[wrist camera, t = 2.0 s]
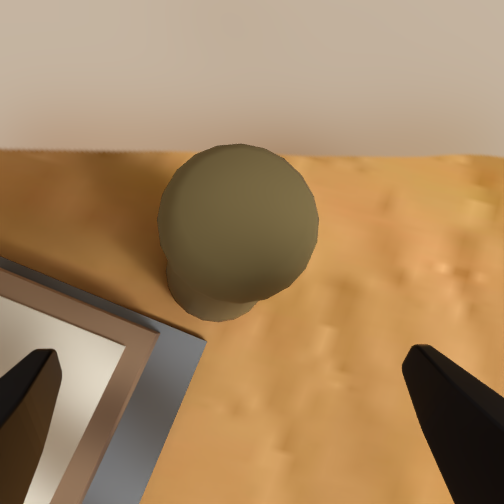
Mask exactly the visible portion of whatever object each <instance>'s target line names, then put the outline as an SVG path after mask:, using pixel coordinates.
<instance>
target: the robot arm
mask: <svg viewBox="0 0 504 504" xmlns="http://www.w3.org/2000/svg"><path fill="white" fill-rule="evenodd" d="M402 373H403V376H404V379H405V382H406V385H407V388H408V391H409V394H410V397H411V400H412V403H413V406H414V409H415V412H416V415H417V418H418V421H419V423H420V426H421V429H422V431H423V433H424V436H425V438H426V440H427V443H428V445H429V447H430V449H431V452H432V454H433V456H434V458H435V461H436V463H437V465H438V467H439V470H440V472H441V474H442V476H443V479H444V481H445V483H446V485H447V488H448V490H449V492H450V494H451V497H452V499H453V501H454V504H504V398H503V397H502V396H501V395H499V394H498V393H496V392H495V391H494V390H492V389H491V388H489V387H488V386H487V385H485V384H484V383H482V382H481V381H480V380H478V379H477V378H475V377H474V376H473V375H471V374H470V373H468V372H467V371H466V370H464V369H463V368H461V367H460V366H459V365H457V364H456V363H454V362H453V361H452V360H450V359H449V358H447V357H446V356H445V355H443V354H442V353H440V352H439V351H438V350H436V349H435V348H433V347H432V346H430V345H427V344H416V345H413V346H412V347H411V349H410V350H409V352H408V354H407V356H406V358H405V360H404V362H403V364H402ZM61 382H62V369H61V366H60V362H59V358H58V355H57V352H56V350H55V349H52V348H47V349H35V350H33V351H31V352H30V353H29V354H28V355H27V356H25V357H24V358H23V359H22V360H21V361H19V362H18V363H17V364H16V365H15V366H14V367H12V368H11V369H10V370H9V371H8V372H6V373H5V374H4V375H3V376H2V377H1V378H0V504H23V503H24V501H25V498H26V495H27V493H28V490H29V488H30V485H31V482H32V480H33V477H34V474H35V472H36V469H37V466H38V464H39V461H40V458H41V455H42V453H43V450H44V446H45V443H46V439H47V435H48V432H49V428H50V424H51V420H52V416H53V412H54V409H55V405H56V401H57V397H58V393H59V389H60V386H61Z"/></svg>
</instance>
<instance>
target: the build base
mask: <svg viewBox="0 0 504 504" xmlns="http://www.w3.org/2000/svg"><path fill="white" fill-rule="evenodd" d="M206 343H207V341H204V340H202V339H200V338H197V337H195V336H192V335H190V334H187V333H185V332H183V331H180V330H178V329H175V328H173V327H170V326H168V325H166V324H163V323H161V322H158V321H156V320H153V319H151V318H149V317H146V316H144V315H141V314H139V313H136V312H134V311H132V310H129V309H127V308H124V307H122V306H119V305H117V304H115V303H112V302H110V301H107V300H105V299H102V298H100V297H98V296H95V295H93V294H90V293H88V292H85V291H83V290H81V289H78V288H76V287H73V286H71V285H68V284H66V283H64V282H61V281H59V280H56V279H54V278H51V277H49V276H47V275H44V274H42V273H39V272H37V271H34V270H32V269H30V268H27V267H25V266H22V265H20V264H17V263H15V262H13V261H10V260H8V259H5V258H3V257H0V378H1V377H2V376H3V375H4V374H5V373H6V372H8V371H9V370H10V369H11V368H12V367H14V366H15V365H16V364H17V363H18V362H19V361H21V360H22V359H23V358H24V357H25V356H27V355H28V354H29V353H30V352H31V351H33V350H35V349H47V348H52V349H55V350H56V352H57V355H58V358H59V362H60V366H61V369H62V382H61V386H60V389H59V393H58V397H57V401H56V405H55V409H54V412H53V416H52V420H51V424H50V428H49V432H48V435H47V439H46V443H45V446H44V450H43V453H42V455H41V458H40V461H39V464H38V466H37V469H36V472H35V474H34V477H33V480H32V482H31V485H30V488H29V490H28V493H27V495H26V498H25V501H24V503H23V504H139V502H140V500H141V498H142V495H143V493H144V491H145V488H146V486H147V483H148V481H149V479H150V476H151V474H152V472H153V469H154V467H155V464H156V462H157V460H158V457H159V455H160V452H161V450H162V448H163V445H164V443H165V441H166V438H167V436H168V433H169V431H170V429H171V426H172V424H173V422H174V419H175V417H176V414H177V412H178V410H179V407H180V405H181V402H182V400H183V398H184V395H185V393H186V391H187V388H188V386H189V383H190V381H191V379H192V376H193V374H194V372H195V369H196V367H197V364H198V362H199V360H200V357H201V355H202V352H203V350H204V348H205V345H206Z"/></svg>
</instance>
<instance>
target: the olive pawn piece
mask: <svg viewBox="0 0 504 504" xmlns="http://www.w3.org/2000/svg"><path fill="white" fill-rule="evenodd" d="M157 223H158V230H159V238H160V245H161V247H162V250H163V252H164V253H165V255H166V257H167V259H168V262H167V268H166V274H167V281H168V287H169V289H170V291H171V293H172V295H173V297H174V299H175V301H176V302H177V303H178V304H179V305H180V306H181V307H182V308H183V309H184V310H185V311H186V312H187V313H189V314H191V315H193V316H195V317H197V318H199V319H201V320H206V321H213V322H223V321H228V320H233V319H236V318H238V317H240V316H241V315H243V314H245V313H247V312H249V311H250V310H251V309H252V307H253V306H254V305H255V304H256V303H257V302H258V301H260V300H265V299H268V298H270V297H271V296H273V295H275V294H277V293H279V292H280V291H282V290H284V289H286V288H288V287H289V286H290V285H291V284H292V283H293V282H294V281H295V280H296V279H297V278H298V276H299V275H300V274H301V273H302V272H303V271H304V270H305V269H306V267H307V264H308V262H309V259H310V257H311V255H312V252H313V250H314V248H315V245H316V243H317V236H318V224H319V217H318V212H317V208H316V204H315V200H314V196H313V194H312V192H311V191H310V189H309V187H308V185H307V184H306V182H305V180H304V178H303V177H302V175H301V174H300V173H299V172H298V171H297V170H296V169H294V168H293V167H292V166H291V165H290V164H289V163H288V162H287V161H286V160H285V159H284V158H282V157H280V156H278V155H276V154H274V153H272V152H270V151H268V150H267V149H264V148H260V147H255V146H250V145H245V144H233V145H220V146H215V147H213V148H210V149H208V150H205V151H203V152H200V153H198V154H195V155H194V156H193V157H192V158H190V159H189V160H188V161H187V162H186V163H185V164H183V165H182V166H181V167H180V168H179V169H177V171H176V172H175V174H174V176H173V177H172V179H171V181H170V182H169V184H168V186H167V187H166V189H165V191H164V193H163V195H162V198H161V203H160V208H159V213H158V218H157Z"/></svg>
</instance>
